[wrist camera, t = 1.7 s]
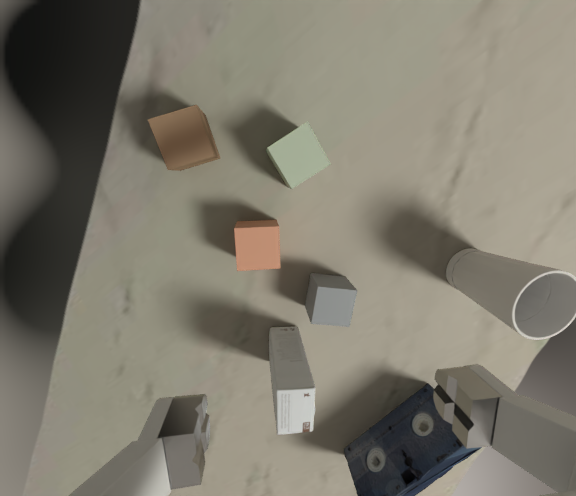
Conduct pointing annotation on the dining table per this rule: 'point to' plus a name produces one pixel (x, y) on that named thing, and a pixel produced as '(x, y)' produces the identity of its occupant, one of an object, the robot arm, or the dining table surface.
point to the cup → (516, 291)
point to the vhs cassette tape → (405, 450)
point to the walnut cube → (184, 138)
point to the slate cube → (330, 300)
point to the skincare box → (291, 381)
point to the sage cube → (298, 156)
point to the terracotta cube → (257, 245)
